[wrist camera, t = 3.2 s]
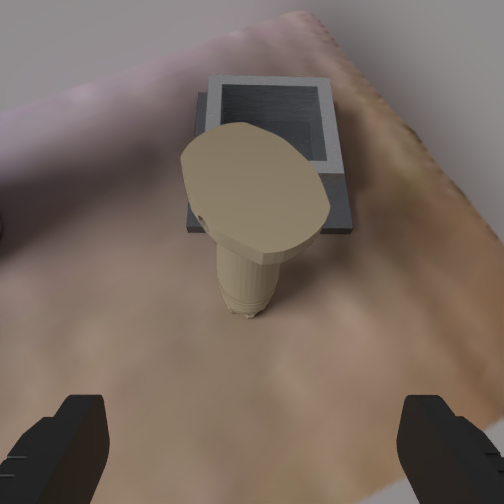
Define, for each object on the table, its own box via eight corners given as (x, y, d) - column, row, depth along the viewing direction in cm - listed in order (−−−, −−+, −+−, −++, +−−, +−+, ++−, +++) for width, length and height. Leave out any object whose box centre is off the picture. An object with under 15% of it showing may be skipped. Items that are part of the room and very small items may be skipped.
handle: (245, 253, 29) (251, 107, 15) (296, 313, 26) (355, 205, 13) (197, 286, 27) (156, 158, 14) (246, 352, 25) (255, 277, 12)
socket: (188, 232, 29) (178, 198, 25) (199, 100, 36) (193, 55, 32) (349, 234, 30) (369, 201, 25) (330, 103, 37) (342, 59, 32)
